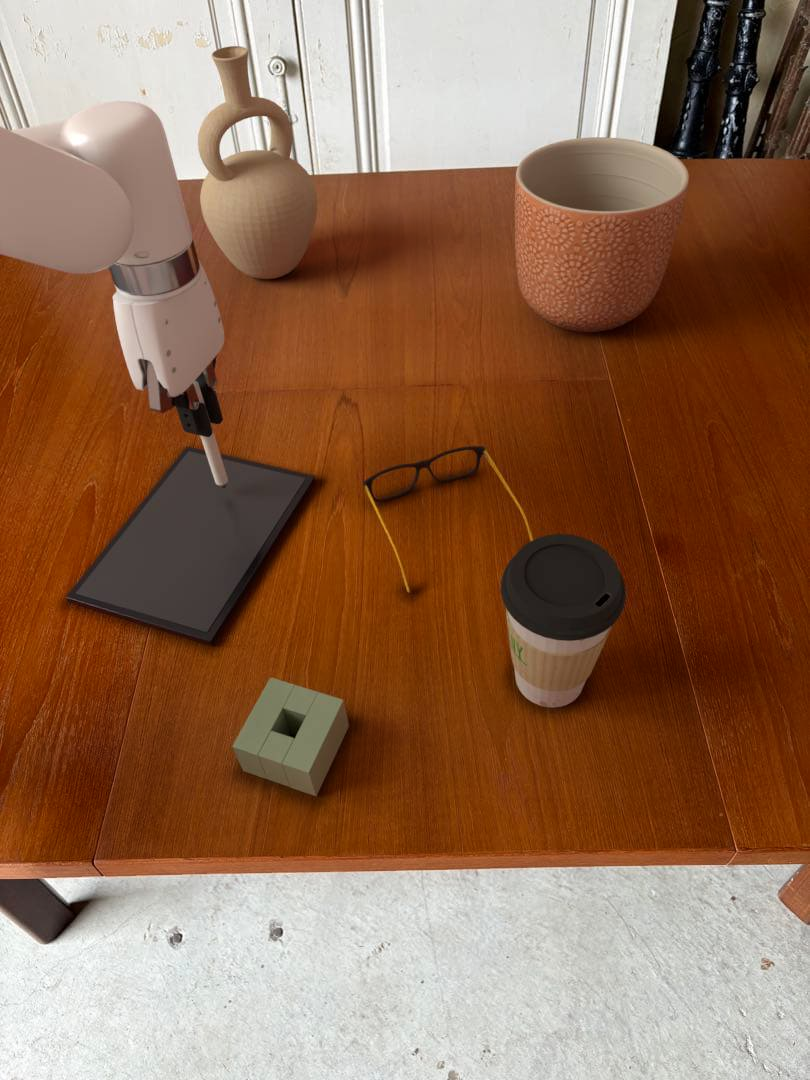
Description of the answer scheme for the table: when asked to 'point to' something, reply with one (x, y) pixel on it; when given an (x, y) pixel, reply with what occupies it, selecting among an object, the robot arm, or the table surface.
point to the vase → (254, 181)
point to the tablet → (193, 546)
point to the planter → (595, 229)
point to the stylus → (212, 450)
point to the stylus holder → (282, 756)
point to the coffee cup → (559, 614)
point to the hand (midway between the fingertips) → (203, 425)
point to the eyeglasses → (426, 464)
